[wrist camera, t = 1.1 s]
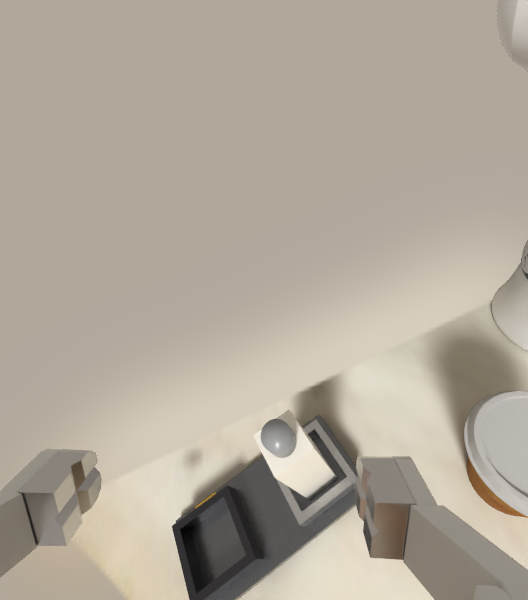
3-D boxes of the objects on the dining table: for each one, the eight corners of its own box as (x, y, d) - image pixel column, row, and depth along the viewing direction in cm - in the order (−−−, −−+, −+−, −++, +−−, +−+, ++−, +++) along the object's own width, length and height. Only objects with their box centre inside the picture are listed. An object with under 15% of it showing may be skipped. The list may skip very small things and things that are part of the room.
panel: (320, 417, 41) (314, 407, 38) (373, 491, 34) (371, 486, 31) (179, 521, 38) (164, 519, 36) (206, 624, 31) (189, 629, 29)
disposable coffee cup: (597, 518, 27) (688, 499, 19) (493, 552, 28) (534, 549, 19) (512, 416, 34) (551, 368, 25) (430, 446, 35) (440, 409, 26)
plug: (316, 446, 37) (282, 401, 27) (337, 477, 35) (308, 441, 24) (290, 466, 37) (245, 428, 26) (309, 499, 34) (266, 472, 24)
